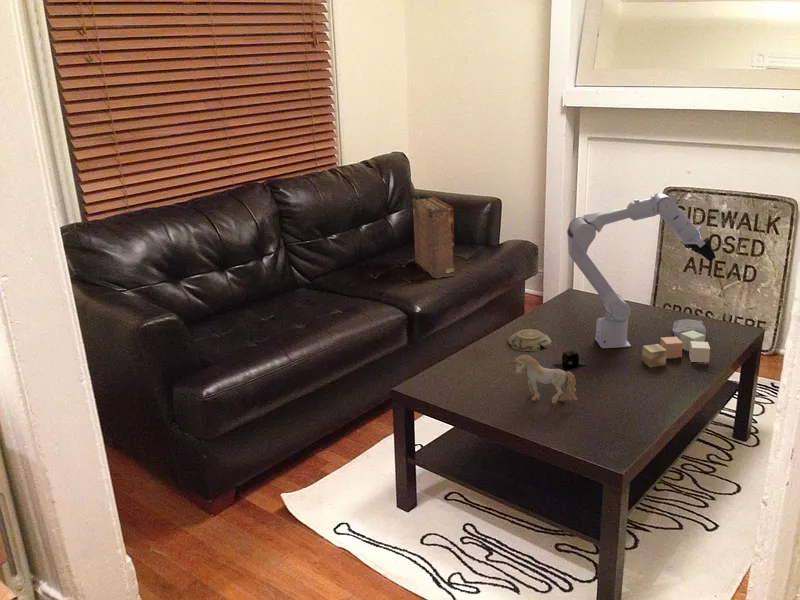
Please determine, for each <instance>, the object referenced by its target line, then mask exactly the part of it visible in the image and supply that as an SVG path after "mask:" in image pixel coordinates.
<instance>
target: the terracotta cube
mask: <svg viewBox="0 0 800 600" xmlns="http://www.w3.org/2000/svg"><path fill="white" fill-rule="evenodd" d="M659 340H660V343H659V345H660V346H662V347H663V348H664V349H666V350H667V352H666V360H668V359H679V358H678V357H682V354H683V349H682V347H683V343H682V342H681V341H680V340H679V339H678V338H677V337H675V336H665V337H663V336H662V337H661V336H660V339H659Z"/></svg>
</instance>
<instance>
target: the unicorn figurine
mask: <svg viewBox="0 0 800 600" xmlns="http://www.w3.org/2000/svg"><path fill="white" fill-rule="evenodd" d="M514 359H515V360H505V363H508V364H515V366H516V371H515V373H516V374H517V375H521V374H522V372H523V371H522V370H523V369H524V368H526V369H527V370H526V371H527V372H526V373H527V377H528V380H527V386H528V389H529V391H530V392H531V394H532V395H533V396H532V398H531V399H530V400H531V401H532V400H533V401H532V402H536V400H537V401H540V397H541V393H540V392H539V391H538V389H539V388H538V384H537V383H540V384H544V385H549V384H552V385H553V386H554V388H555V390H556V391H557V393H555V395H553V396H552V397H551V405H552V406H555V404H557V401H558V402H561V403H562V402H563V401H567V400H569V401H570V402H572V400H573V401H578V397H576V395H575V393H576V391H577V389H576V387H575V386H576V382H577V380H576V378H575V375H574V374H573V373H572V372H571V371H570V370H567V371H563V370H560V369H558V368H546V367H543V366H541V364H540V363H539V361H537V360H536V359H535V358H534V357H533V356H530V355H528V354H522V355H519V356H518V357H516V356H514ZM565 383H566V384H565ZM534 395H535V396H534ZM561 395H562V396H561ZM559 396H560V397H559Z"/></svg>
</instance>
